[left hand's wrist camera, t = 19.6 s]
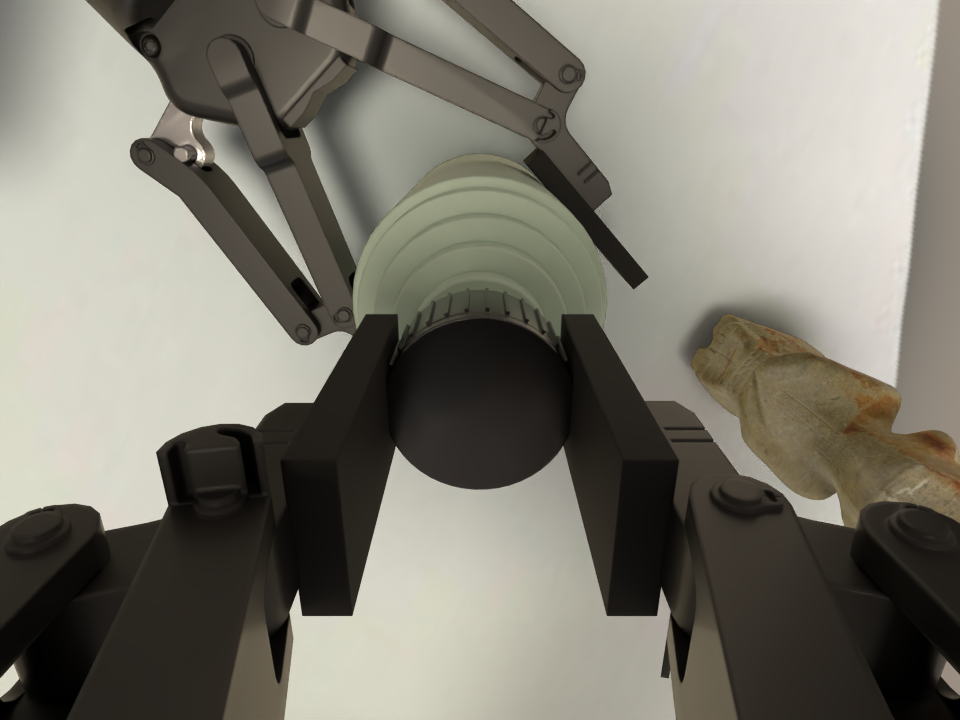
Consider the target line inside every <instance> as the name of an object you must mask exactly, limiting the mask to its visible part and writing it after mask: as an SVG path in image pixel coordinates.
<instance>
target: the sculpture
mask: <svg viewBox="0 0 960 720" xmlns="http://www.w3.org/2000/svg"><path fill="white" fill-rule="evenodd" d="M712 333H713V340H712V342H711V344H710V345H709V346H708V347H700V348H699V349H698V350H697V352H696V354H695V355H694V357H693V359H692V361H691V363H690V365H691V367H692V368H693V369H694V370H695V371H696V376H697V378H698V379H699V381H700V382H701V384H702V385H703V386H704V388H705V389H706V390H707V391H708V392H709V394H710V395H711V396H712V397H713V398H714V399H715V400H716V401H717V402H718V403H719V404H720V405H721V406H723V407H724V408H725V409H726V410H728V411H729V412H730V413H732V414H733V415H735V416H737V417H738V418H740V426H741V433H742V437H743V440H744V442H745V443H746V444H747V446H748V447H749V448H750V449H751V451H752V452H753V453H754V454H755V455H756V456H757V457H758V458H759V459H761V460H762V461H763V462H764V463H765V464H766V465H767V466H768V468H769V469H770V470H771V471H772V472H773V473H774V474H775V475H776V476H777V477H778V478H779V479H780V480H781V481H782V482H783V483H784V484H785V485H786V486H787V487H788V488H789V489H791V490H792V491H793V492H795V493H797V494H799V495H800V496H802V497H805V498H808V499H813V500H823V499H826V498H828V497H830V496H832V495H833V494H835V493H836V492H837V495H838V498H839V502H840V507H841V514H842V520H843V523H844V526H845V527H850V528H856V524H857V521H858V517H859V514H860V510H862V509H863V508H864V507H865V506H867V505H868V504H870V503H876V502H881V501H892V502H907V503H913V504H916V505H917V506H919V505H921V506H925V507H928V508H931V509H933V510H935V511H936V512H938V513H940V514H943V515H945V516H948V517H950V518H952V519H954V520H955V521H957V522H959V523H960V456H959V452H958V448H957V445H956V443H955V441H954V440H953V438H951V437H950V436H949V435H948V434H947V433H944V432H942V431H937V430H929V431H922V432H918V433H912V434H895V433H892V432H891V428H892V424H893V422H894V420H895V417H896V415H897V413H898V411H899V408H900V405H901V396H900V394H899V392H898V391H897V389H895V388H894V387H892V386H891V385H889V384H886V383H884V382H882V381H879V380H877V379H875V378H873V377H870V376H868V375H866V374H863V373H861V372H858V371H855V370H853V369H850V368H848V367H846V366H843V365H841V364H839V363H837V362H835V361H833V360H831V359H828V358H826V357H825V356H824V355H823V354H821V353H820V352H819V351H818V350H816V349H815V348H814V347H812V346H811V345H809V344H808V343H806V342H804V341H802V340H800V339H798V338H796V337H793V336H791V335H788V334H785V333H783V332H780V331H777V330H774V329H771V328H769V327H766V326H762V325H759V324H756V323H753V322H750V321H748V320H745V319H742V318H739V317H736V316H734V315H729V314H727V315H725V316H723V317H722V318H721V320H720V321H719V322H718V323H717V324H716V326H715V327H714V328H713V331H712Z"/></svg>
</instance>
